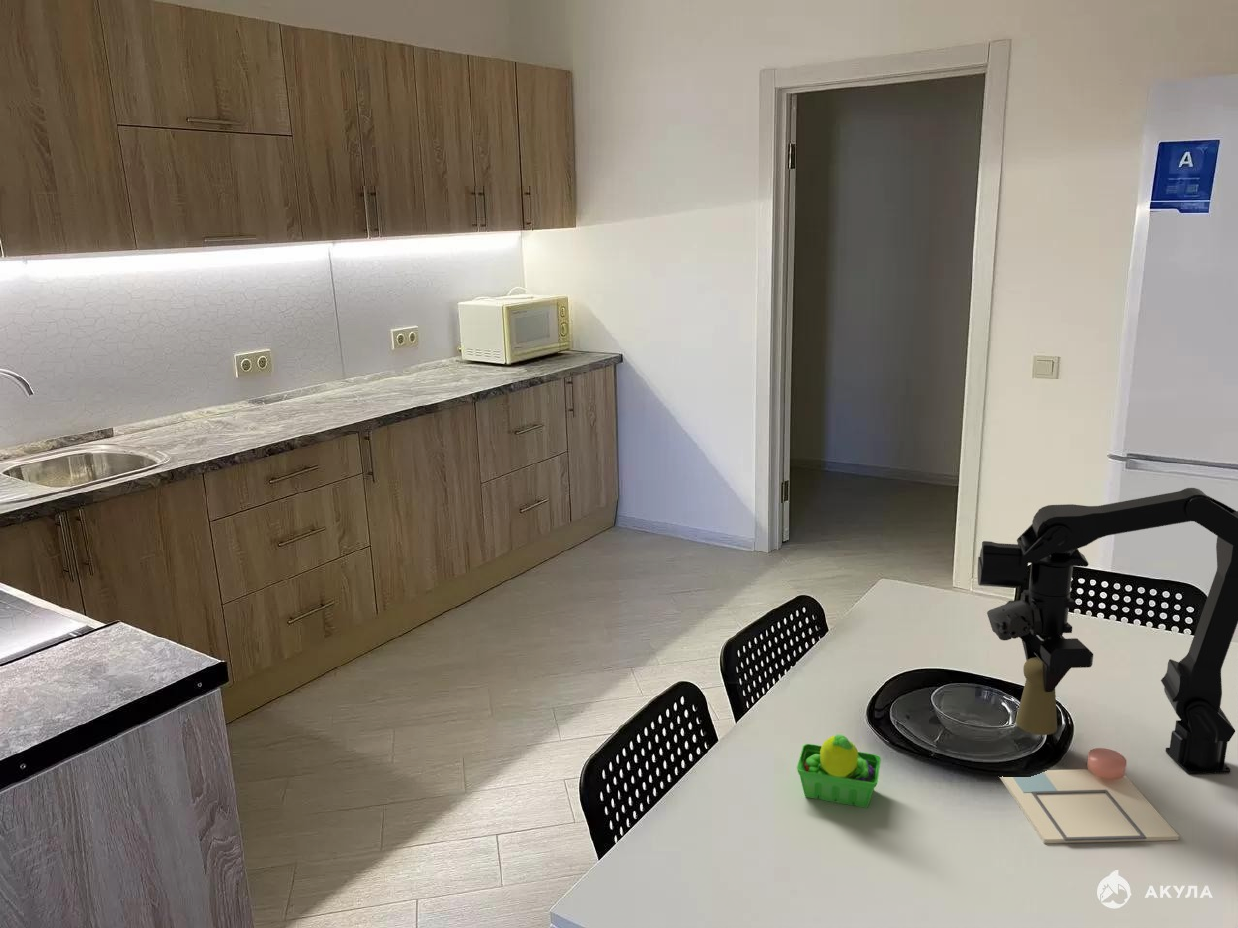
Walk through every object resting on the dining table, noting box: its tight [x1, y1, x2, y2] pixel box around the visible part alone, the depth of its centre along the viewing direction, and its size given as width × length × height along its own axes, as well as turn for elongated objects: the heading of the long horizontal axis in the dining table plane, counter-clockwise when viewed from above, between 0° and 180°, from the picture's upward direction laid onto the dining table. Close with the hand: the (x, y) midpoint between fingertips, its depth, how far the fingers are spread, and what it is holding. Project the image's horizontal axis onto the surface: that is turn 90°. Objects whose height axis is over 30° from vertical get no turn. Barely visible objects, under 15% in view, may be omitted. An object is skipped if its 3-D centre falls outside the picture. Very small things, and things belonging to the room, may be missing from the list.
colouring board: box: [999, 768, 1180, 844], centre depth 135 cm, size 18×16×1 cm
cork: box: [1015, 657, 1058, 736], centre depth 149 cm, size 6×6×11 cm
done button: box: [1086, 747, 1127, 779], centre depth 140 cm, size 5×5×2 cm
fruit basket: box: [796, 734, 882, 809], centre depth 138 cm, size 11×9×11 cm
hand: (1040, 682), depth 148 cm, fingers closed on cork, 5 cm apart
